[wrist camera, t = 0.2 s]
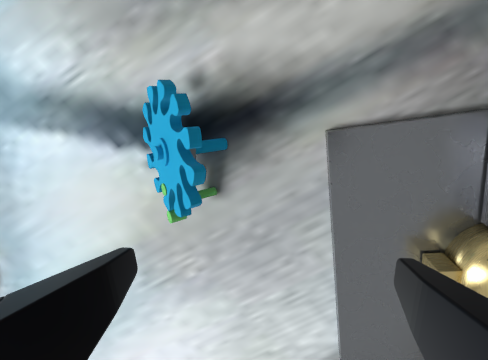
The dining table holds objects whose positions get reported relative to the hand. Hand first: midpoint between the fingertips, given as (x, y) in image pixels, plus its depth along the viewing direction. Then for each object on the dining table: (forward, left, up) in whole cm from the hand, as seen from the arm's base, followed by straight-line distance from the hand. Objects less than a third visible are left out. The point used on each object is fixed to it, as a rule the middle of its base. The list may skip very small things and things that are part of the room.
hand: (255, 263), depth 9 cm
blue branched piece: (+2, +7, -15) cm, 16 cm away
